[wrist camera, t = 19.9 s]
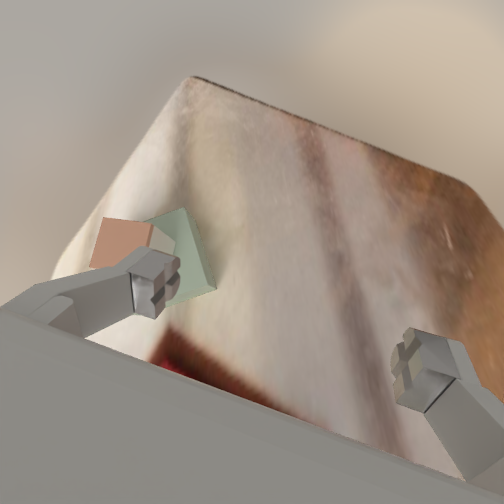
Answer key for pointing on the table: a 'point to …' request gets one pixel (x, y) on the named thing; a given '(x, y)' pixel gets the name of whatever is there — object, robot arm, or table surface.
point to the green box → (186, 255)
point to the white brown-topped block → (126, 241)
